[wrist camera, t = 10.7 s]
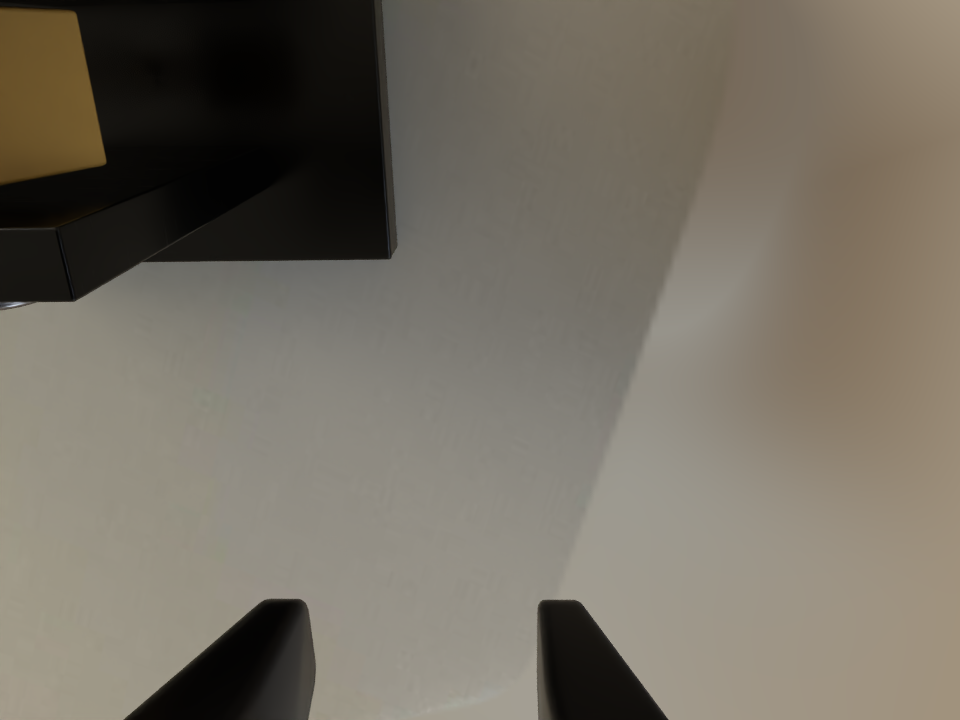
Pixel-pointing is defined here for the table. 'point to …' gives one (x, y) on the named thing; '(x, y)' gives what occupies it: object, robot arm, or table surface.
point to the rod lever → (45, 96)
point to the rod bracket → (213, 144)
